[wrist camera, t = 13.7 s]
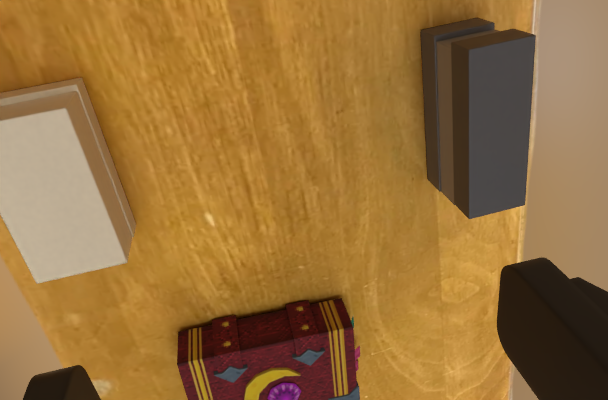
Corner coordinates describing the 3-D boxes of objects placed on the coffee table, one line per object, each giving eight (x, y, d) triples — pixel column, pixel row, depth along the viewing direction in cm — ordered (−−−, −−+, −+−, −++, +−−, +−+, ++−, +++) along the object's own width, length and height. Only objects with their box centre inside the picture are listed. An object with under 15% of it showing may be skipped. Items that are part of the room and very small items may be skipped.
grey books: (420, 29, 36) (467, 49, 30) (477, 17, 36) (536, 34, 30) (427, 179, 42) (468, 222, 36) (476, 167, 42) (525, 207, 36)
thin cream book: (-31, 118, 29) (-45, 129, 28) (73, 97, 30) (65, 107, 28) (44, 267, 35) (36, 284, 33) (130, 247, 35) (127, 263, 34)
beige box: (-13, 95, 32) (-35, 112, 29) (81, 76, 33) (70, 92, 30) (57, 242, 38) (45, 269, 35) (136, 224, 39) (131, 250, 35)
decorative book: (175, 325, 44) (173, 368, 39) (353, 289, 46) (370, 326, 41) (200, 412, 49) (201, 458, 45) (358, 376, 51) (374, 416, 47)
